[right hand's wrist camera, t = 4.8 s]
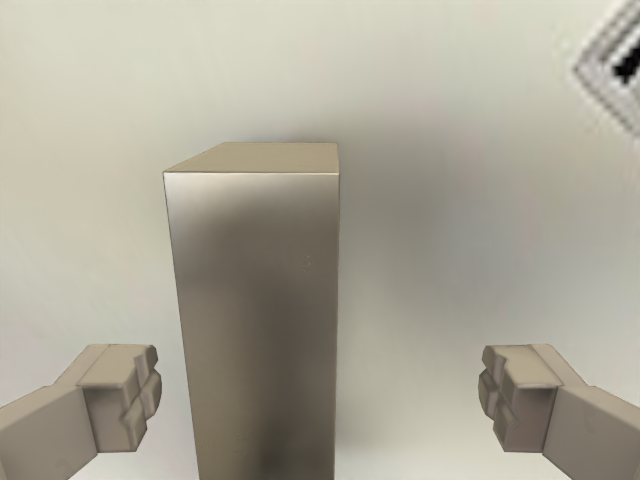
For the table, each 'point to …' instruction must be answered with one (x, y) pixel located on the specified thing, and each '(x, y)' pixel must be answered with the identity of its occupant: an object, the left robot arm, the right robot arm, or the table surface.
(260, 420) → the box
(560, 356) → the right robot arm
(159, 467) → the table surface
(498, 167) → the table surface
